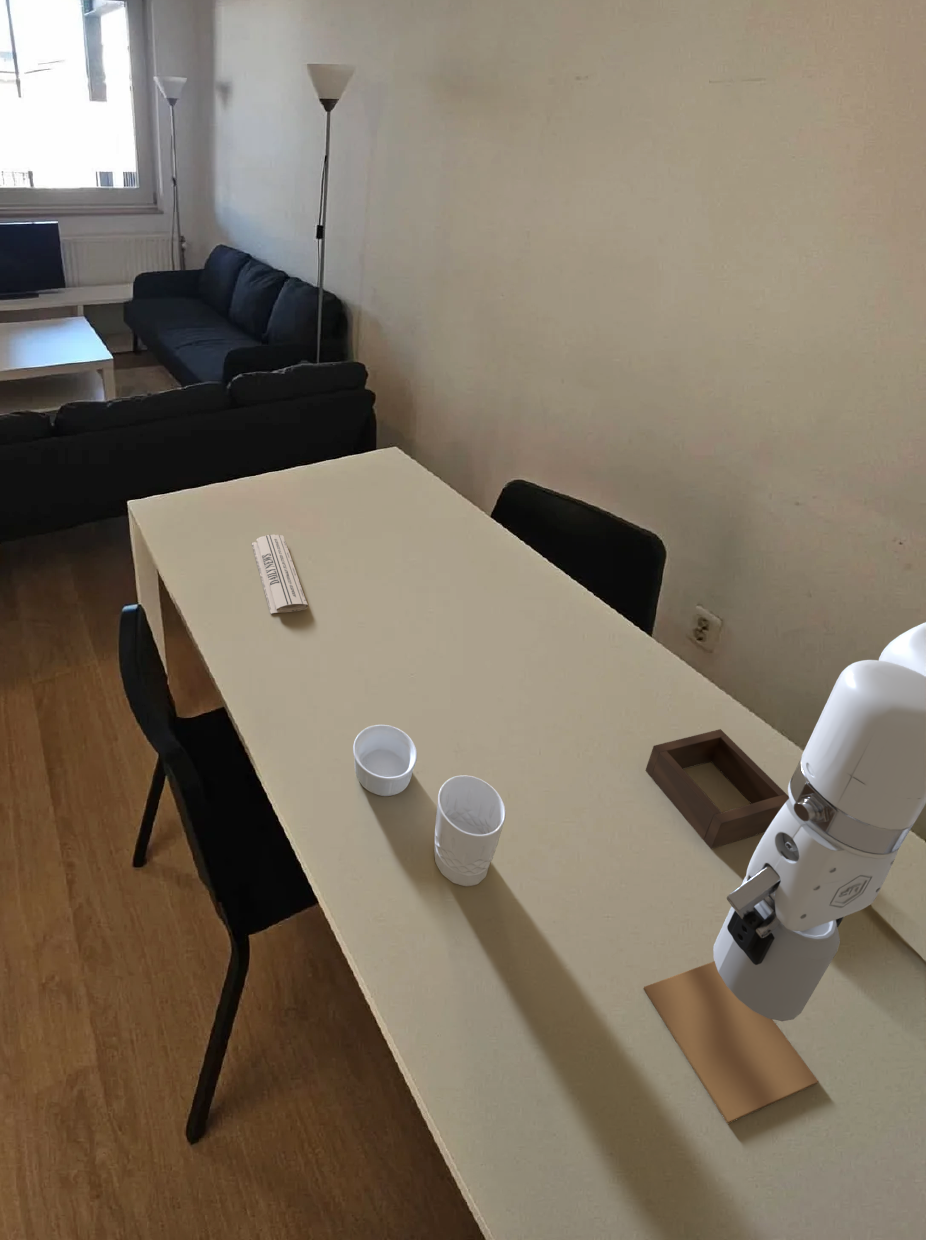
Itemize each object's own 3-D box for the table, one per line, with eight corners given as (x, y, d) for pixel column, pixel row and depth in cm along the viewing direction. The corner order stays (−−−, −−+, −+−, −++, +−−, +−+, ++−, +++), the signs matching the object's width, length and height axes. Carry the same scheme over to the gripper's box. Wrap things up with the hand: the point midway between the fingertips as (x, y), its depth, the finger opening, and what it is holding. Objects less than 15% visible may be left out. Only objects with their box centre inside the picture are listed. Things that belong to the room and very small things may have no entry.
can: (819, 1028, 61) (868, 949, 56) (737, 1025, 61) (779, 945, 56) (769, 937, 68) (809, 860, 63) (695, 934, 68) (729, 856, 63)
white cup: (425, 827, 87) (434, 773, 83) (486, 830, 87) (497, 776, 83) (433, 890, 80) (443, 834, 76) (499, 894, 80) (512, 838, 76)
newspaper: (307, 609, 126) (308, 602, 125) (270, 614, 124) (270, 606, 123) (283, 540, 147) (283, 533, 146) (251, 543, 145) (251, 536, 144)
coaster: (724, 959, 74) (725, 956, 74) (817, 1083, 65) (818, 1081, 64) (643, 988, 71) (643, 986, 71) (727, 1124, 62) (728, 1122, 62)
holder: (711, 753, 99) (720, 728, 97) (782, 827, 89) (794, 801, 87) (645, 770, 96) (653, 745, 94) (710, 849, 86) (721, 823, 84)
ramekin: (406, 810, 89) (409, 787, 87) (343, 787, 92) (345, 765, 90) (420, 757, 97) (423, 735, 95) (361, 738, 99) (363, 716, 98)
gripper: (809, 874, 49) (737, 1011, 56) (975, 818, 53) (889, 951, 60) (725, 784, 55) (670, 916, 62) (879, 742, 60) (812, 869, 67)
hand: (778, 933), depth 61 cm, fingers closed on can, 7 cm apart
